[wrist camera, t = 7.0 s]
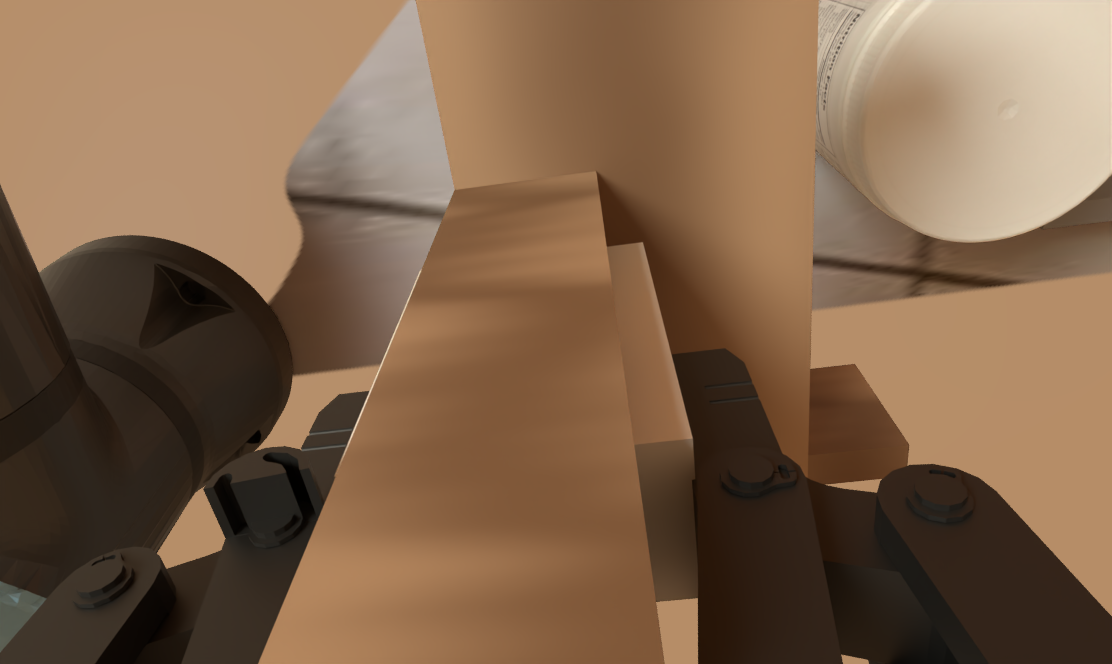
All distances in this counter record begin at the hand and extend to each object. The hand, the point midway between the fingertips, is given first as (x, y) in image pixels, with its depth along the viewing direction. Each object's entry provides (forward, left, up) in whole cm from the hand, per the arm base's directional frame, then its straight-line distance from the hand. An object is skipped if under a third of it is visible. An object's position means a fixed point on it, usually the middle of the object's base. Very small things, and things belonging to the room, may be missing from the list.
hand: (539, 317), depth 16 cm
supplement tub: (+15, 0, -26) cm, 30 cm away
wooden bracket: (+3, 0, -6) cm, 7 cm away
